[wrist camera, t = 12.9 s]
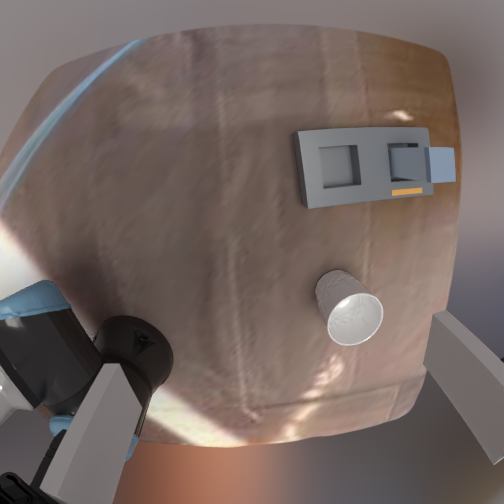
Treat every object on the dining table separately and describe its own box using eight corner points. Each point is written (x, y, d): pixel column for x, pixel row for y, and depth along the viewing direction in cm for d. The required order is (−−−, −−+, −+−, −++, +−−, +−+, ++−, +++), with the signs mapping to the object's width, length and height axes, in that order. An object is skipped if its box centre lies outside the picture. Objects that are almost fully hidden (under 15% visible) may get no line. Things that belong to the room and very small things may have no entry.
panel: (302, 204, 40) (308, 209, 36) (292, 134, 37) (298, 131, 33) (419, 191, 40) (433, 194, 36) (414, 129, 37) (428, 127, 33)
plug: (385, 175, 38) (431, 182, 27) (382, 148, 37) (428, 147, 26) (406, 174, 38) (455, 181, 27) (404, 148, 37) (453, 147, 25)
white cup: (317, 262, 43) (336, 290, 33) (363, 269, 44) (390, 296, 34) (306, 308, 45) (320, 344, 36) (350, 312, 46) (372, 346, 36)
